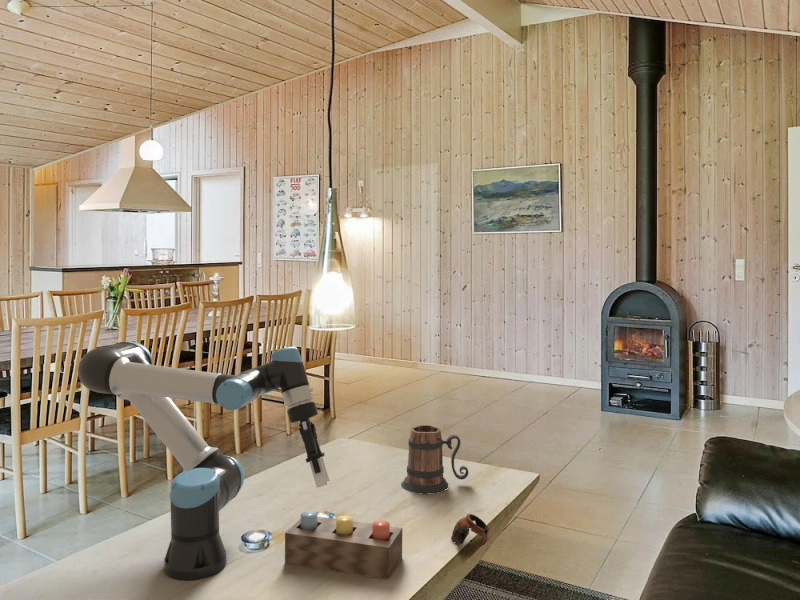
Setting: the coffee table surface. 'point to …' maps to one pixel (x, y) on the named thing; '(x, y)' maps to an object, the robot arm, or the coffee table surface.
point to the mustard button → (344, 525)
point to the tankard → (428, 461)
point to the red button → (381, 530)
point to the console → (344, 549)
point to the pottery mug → (463, 529)
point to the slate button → (309, 520)
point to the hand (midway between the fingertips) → (323, 484)
